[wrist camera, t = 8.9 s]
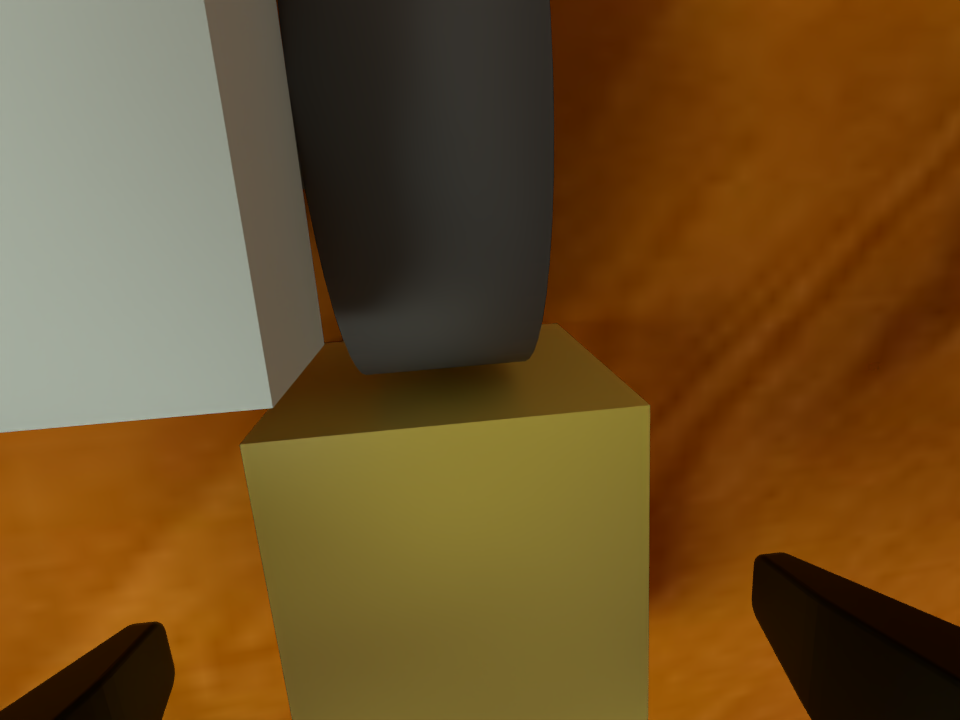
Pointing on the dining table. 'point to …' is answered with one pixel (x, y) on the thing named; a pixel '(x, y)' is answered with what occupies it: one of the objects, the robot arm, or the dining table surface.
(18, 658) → the dining table surface
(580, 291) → the dining table surface
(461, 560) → the chock
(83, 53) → the trolley
